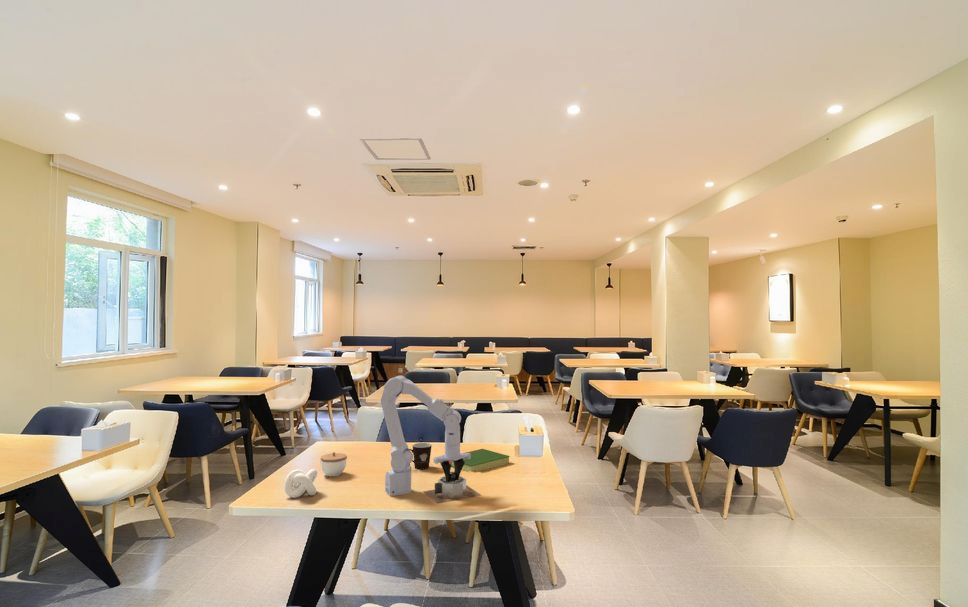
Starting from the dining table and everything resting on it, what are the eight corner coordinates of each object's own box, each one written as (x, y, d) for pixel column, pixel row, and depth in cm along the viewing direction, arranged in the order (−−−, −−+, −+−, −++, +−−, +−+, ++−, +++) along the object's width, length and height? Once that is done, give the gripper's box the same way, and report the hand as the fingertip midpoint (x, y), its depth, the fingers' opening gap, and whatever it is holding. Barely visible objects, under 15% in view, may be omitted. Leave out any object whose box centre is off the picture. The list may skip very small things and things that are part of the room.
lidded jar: (319, 479, 196) (319, 456, 196) (321, 471, 206) (321, 450, 207) (346, 477, 199) (346, 454, 199) (346, 470, 209) (347, 448, 209)
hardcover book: (482, 456, 235) (482, 448, 235) (509, 464, 222) (509, 456, 222) (442, 465, 218) (443, 457, 218) (469, 475, 205) (469, 466, 205)
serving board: (437, 505, 167) (437, 503, 167) (422, 493, 179) (422, 491, 179) (481, 497, 176) (482, 495, 176) (465, 486, 188) (465, 484, 188)
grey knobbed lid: (447, 490, 173) (447, 476, 173) (439, 484, 179) (439, 471, 179) (464, 487, 176) (465, 474, 177) (456, 482, 183) (456, 469, 183)
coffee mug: (433, 465, 217) (433, 443, 218) (429, 470, 209) (429, 447, 209) (408, 464, 218) (408, 442, 219) (403, 469, 210) (403, 446, 210)
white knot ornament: (282, 502, 170) (282, 476, 170) (286, 491, 181) (286, 467, 182) (315, 499, 173) (316, 474, 173) (317, 488, 184) (317, 465, 185)
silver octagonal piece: (440, 500, 170) (440, 486, 170) (430, 492, 179) (430, 478, 179) (469, 495, 176) (469, 481, 176) (458, 487, 184) (458, 474, 185)
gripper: (439, 448, 172) (438, 486, 171) (474, 444, 179) (474, 480, 178) (431, 444, 178) (431, 481, 177) (466, 440, 185) (465, 475, 184)
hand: (452, 480), depth 178 cm, fingers closed on grey knobbed lid, 3 cm apart
